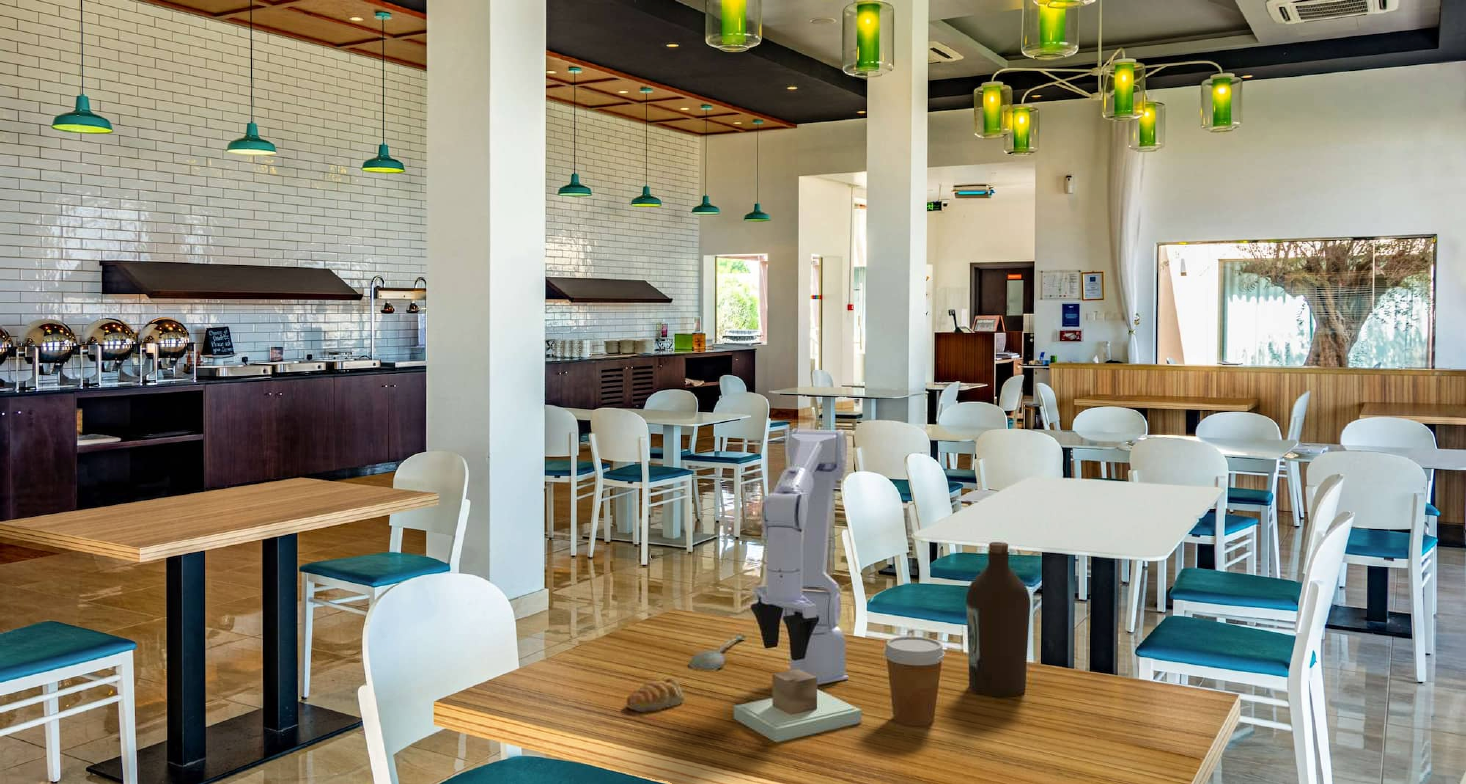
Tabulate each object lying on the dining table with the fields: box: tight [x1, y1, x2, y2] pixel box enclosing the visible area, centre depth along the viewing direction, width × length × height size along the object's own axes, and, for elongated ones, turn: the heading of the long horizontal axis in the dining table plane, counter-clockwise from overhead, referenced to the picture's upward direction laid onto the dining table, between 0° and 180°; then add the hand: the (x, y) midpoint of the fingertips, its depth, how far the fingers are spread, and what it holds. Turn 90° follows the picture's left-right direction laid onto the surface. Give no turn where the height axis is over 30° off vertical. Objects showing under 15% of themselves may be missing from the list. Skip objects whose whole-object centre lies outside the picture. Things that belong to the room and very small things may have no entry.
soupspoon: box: [688, 633, 747, 670], centre depth 204 cm, size 22×3×7 cm
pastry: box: [625, 677, 684, 713], centre depth 176 cm, size 9×7×4 cm
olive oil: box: [965, 541, 1031, 698], centre depth 183 cm, size 11×11×25 cm
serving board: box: [733, 688, 863, 743], centre depth 168 cm, size 16×12×2 cm
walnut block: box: [771, 669, 818, 715], centre depth 168 cm, size 5×5×5 cm
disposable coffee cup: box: [883, 635, 946, 727], centre depth 168 cm, size 10×10×12 cm
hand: (784, 653), depth 171 cm, fingers open, 7 cm apart
